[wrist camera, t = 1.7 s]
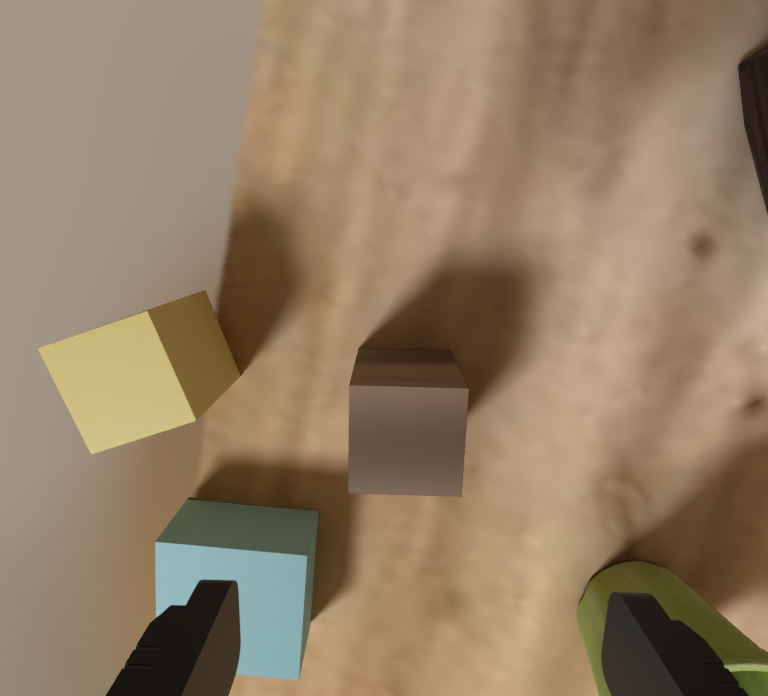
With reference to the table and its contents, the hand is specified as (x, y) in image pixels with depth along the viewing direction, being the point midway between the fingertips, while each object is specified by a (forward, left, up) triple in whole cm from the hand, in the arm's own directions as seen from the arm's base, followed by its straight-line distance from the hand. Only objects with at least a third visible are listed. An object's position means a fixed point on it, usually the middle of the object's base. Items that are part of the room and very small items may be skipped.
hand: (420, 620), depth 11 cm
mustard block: (-2, -11, -15) cm, 19 cm away
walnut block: (0, 0, -15) cm, 15 cm away
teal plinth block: (+10, -8, -15) cm, 20 cm away
